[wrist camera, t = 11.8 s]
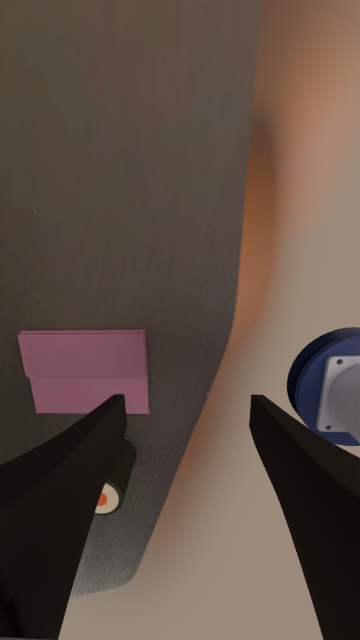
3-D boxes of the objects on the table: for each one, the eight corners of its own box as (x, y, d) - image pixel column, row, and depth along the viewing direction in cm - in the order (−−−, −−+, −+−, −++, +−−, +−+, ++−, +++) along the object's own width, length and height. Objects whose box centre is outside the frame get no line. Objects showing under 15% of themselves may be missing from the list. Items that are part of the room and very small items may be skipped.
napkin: (145, 329, 19) (143, 331, 18) (149, 410, 21) (148, 416, 20) (24, 329, 19) (16, 332, 18) (39, 410, 21) (33, 415, 20)
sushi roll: (134, 437, 21) (120, 480, 17) (137, 469, 22) (124, 518, 18) (95, 436, 22) (70, 479, 17) (99, 468, 23) (77, 517, 18)
